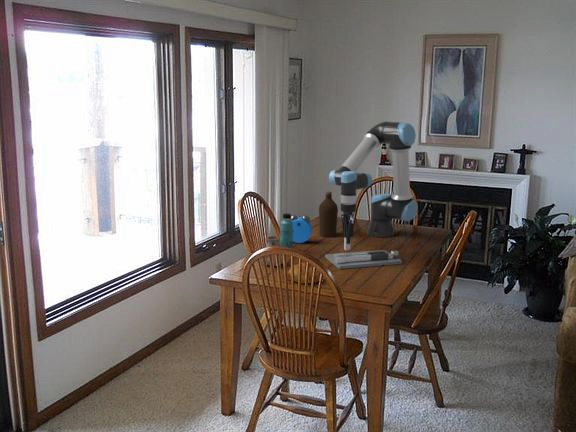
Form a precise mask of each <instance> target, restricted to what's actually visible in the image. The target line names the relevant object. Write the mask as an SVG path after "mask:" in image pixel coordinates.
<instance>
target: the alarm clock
mask: <svg viewBox="0 0 576 432" xmlns="http://www.w3.org/2000/svg"><path fill="white" fill-rule="evenodd" d="M288 220H291V221H292V222H293V243H295V244H296V243H297V244H302V243H305V242H308V240H309V239H310V237H311V235H312V233H313V228H312V224H311V222H310V221H311V218H310V217H309V215H307V214H306V215H305V214H304V215H302V216H301V215H297V214H291V218H290V219H288Z"/></svg>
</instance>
